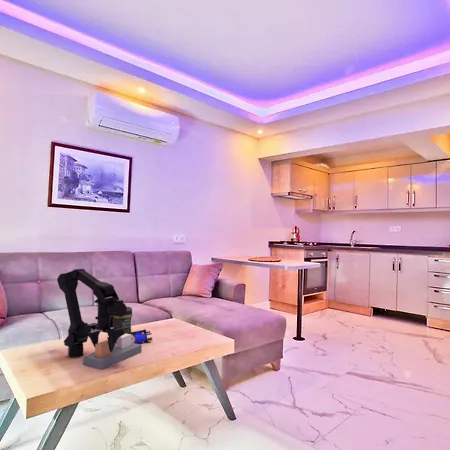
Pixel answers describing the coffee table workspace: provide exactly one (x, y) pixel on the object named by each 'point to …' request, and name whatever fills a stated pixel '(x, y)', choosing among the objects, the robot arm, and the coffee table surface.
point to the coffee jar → (125, 320)
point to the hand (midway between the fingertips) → (103, 349)
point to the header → (112, 357)
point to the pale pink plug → (123, 341)
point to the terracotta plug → (102, 349)
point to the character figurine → (140, 336)
